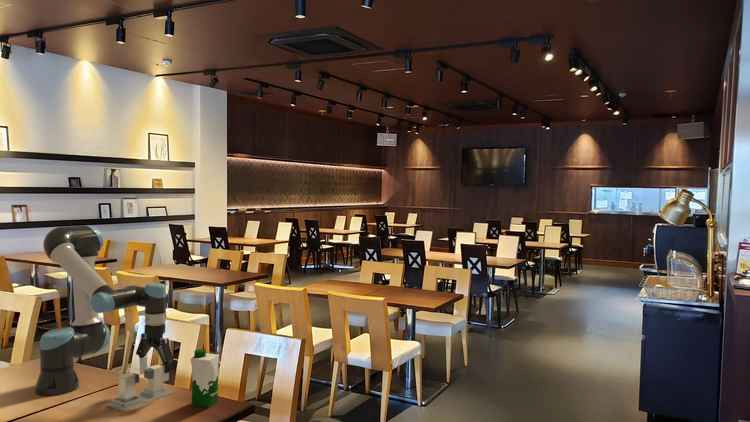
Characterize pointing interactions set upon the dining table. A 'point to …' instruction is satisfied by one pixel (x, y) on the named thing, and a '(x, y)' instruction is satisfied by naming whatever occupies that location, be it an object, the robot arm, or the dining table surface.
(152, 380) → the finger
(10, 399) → the dining table surface
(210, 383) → the milk carton
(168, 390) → the rail
